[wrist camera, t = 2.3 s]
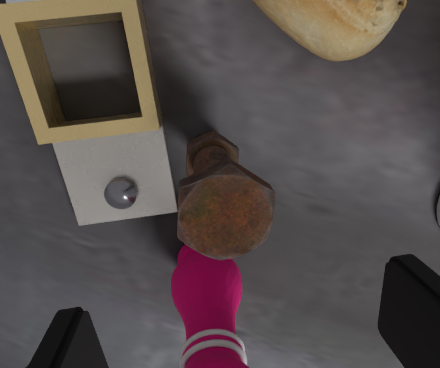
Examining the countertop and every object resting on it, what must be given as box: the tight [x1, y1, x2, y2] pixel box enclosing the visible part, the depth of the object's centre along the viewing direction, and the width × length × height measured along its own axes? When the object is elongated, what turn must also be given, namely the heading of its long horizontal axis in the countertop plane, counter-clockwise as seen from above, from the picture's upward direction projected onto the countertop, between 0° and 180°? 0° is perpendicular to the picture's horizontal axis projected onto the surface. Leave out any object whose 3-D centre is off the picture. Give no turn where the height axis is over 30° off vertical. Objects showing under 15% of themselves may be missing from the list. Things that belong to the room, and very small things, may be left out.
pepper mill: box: [171, 244, 249, 368], centre depth 25 cm, size 7×7×20 cm
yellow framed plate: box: [0, 0, 178, 226], centre depth 24 cm, size 10×28×4 cm, turn 6°
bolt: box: [177, 131, 275, 260], centre depth 22 cm, size 6×5×15 cm
